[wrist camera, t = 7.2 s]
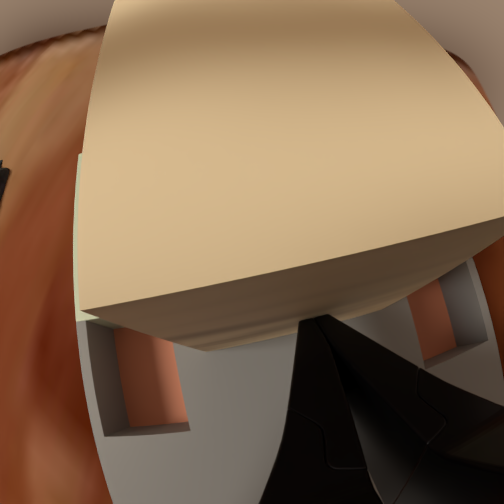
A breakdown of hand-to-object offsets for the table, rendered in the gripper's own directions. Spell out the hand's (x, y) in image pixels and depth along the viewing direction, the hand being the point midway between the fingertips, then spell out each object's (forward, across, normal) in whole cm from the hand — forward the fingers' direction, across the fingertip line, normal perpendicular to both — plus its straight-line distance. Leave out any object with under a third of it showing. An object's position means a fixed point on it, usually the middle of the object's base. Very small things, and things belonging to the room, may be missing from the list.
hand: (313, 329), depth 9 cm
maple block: (+5, 0, -1) cm, 5 cm away
